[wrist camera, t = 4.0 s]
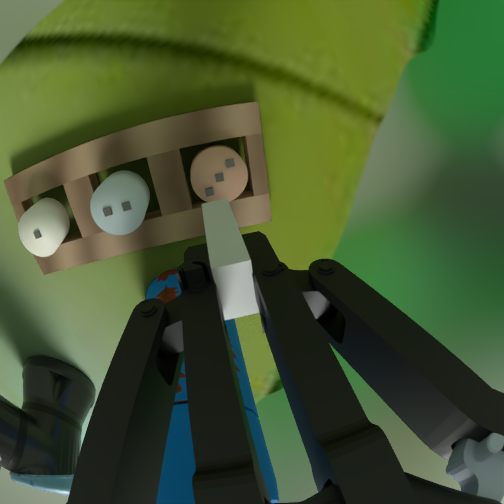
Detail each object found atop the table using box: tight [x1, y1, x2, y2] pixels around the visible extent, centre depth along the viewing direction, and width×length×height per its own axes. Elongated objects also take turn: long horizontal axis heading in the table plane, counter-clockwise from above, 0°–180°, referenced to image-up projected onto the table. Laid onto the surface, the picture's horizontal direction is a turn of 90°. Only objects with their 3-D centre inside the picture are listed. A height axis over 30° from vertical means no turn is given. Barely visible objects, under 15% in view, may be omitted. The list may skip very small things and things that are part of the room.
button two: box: [90, 170, 150, 235], centre depth 22 cm, size 5×5×3 cm
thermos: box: [145, 269, 279, 504], centre depth 24 cm, size 11×11×25 cm
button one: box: [18, 198, 70, 257], centre depth 21 cm, size 5×5×3 cm
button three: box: [191, 144, 248, 202], centre depth 25 cm, size 5×5×3 cm
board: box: [4, 101, 272, 275], centre depth 25 cm, size 27×12×2 cm, turn 97°
